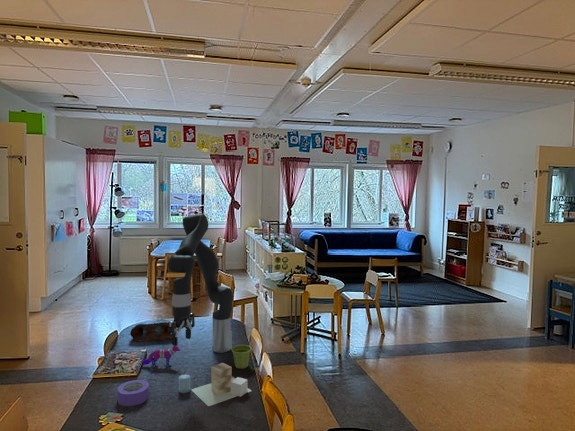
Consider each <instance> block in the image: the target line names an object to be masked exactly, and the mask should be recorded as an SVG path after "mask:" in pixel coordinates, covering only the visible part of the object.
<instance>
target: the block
mask: <svg viewBox="0 0 575 431" xmlns="http://www.w3.org/2000/svg"><path fill="white" fill-rule="evenodd" d="M248 384H249V383H248V379H247V378H243V377H240V376H237V377H236V378H235V379H234V380H233V381H231V394H233V395H237V396H236V397H239V398H240V397H242V396H244V395H245V394H247V393H246V392H247V391H248V386H249V385H248Z"/></svg>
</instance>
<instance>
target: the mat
mask: <svg viewBox="0 0 575 431" xmlns="http://www.w3.org/2000/svg"><path fill="white" fill-rule="evenodd" d="M234 379H236V378H235V377H234V375H233V376H232V379H231V381H233V380H234ZM190 391H191V392H193V393H194V394H195V395H196V396H197V397H198V398H199V399H200V400H201V401H202V402H203V403H205V405H206V406H208V407H211V406H214V405H217V404H220V403H222V402H226V401H229V400H230V399H233V398H236V397H238V396H237V395H233V394H231V391H230V392H227V393H224V394H221V395H217V394H216V393H215V392H214V391H213V390H212V382H210V383H207V384H205V385H200V386H198V387H195V388H191V390H190ZM250 392H252V389H250V388H248V391H247V392H246V393H245V394H247V393H250Z"/></svg>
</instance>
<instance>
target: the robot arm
mask: <svg viewBox="0 0 575 431" xmlns="http://www.w3.org/2000/svg"><path fill="white" fill-rule="evenodd" d="M182 227H183V230H184V232H185V234H186V236H185V237H184V238H183V239H182V240H181V242H180V245H179V247H178V249H176V251H175V252H173V254H171V256H170V257H169V258H168V262H167V268H168V270H169V271H170V272H171V273H174V274H175V273H177V274H179V273H180V274H184V276H182V277H177V278H175V279H173V281H172V297H171V300H172V301H171V302H172V303H171V313H172V317H173V320H172V321H168V322H167V323H168V336H170V337H172V339H171V345H172V347H173V346H178V335H179V333H180V332H181V331H182V329H184V328H185V339H187V340H190V339H191V338H192V330H193V328H194V327H195V324H196V321H195V313H192V294H191V283H192V282H191V281H192V277H193V276H192V275H193V272H194V270H195V266H196V261H197V264H198V266H199V269H200V271H201V274H202V277H203V280H204V282H205V286H206V290H207V293H208V298H209V300H210V302H212V303H213V304H215V305H219V308H218V309H215V310H214V311H213V312H212V345H211V346H212V352H214V353H217V354H218V353H220V354H221V353H223V354H224V353H227V352H230V351H231V349H232V348H233V331H232V330H231V317H232V316H231V315H232V314H231V313H232V312H233V299H234V298H233V291H232V289H231V288H230V287H227V286H223V285H220V283H219V281H218V279H217V278H218V277H217V274H218V271H219V262H218V258H217V256H216V253H215V252H214V250H213V249H212V248H211V247H209V246H208V245H207V244H205V243H204V242H203V241H202V239H203V237H204V236H205V235H206V233H207V232H208V229H209V220H208V217H207V215H206V214H204V213H195V214H190V215H187V216H184V217H183V218H182ZM194 256H195V258H194ZM195 259H196V261H195ZM175 328H177V329H175ZM171 331H172V333H171ZM175 331H176V333H175ZM174 333H175V334H174Z"/></svg>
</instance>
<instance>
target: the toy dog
mask: <svg viewBox="0 0 575 431" xmlns="http://www.w3.org/2000/svg"><path fill="white" fill-rule="evenodd" d="M180 351H181V349H180V348H179V346H178V345H177V346H173V345H172V347H171V348H169V349H156V350H154V351H152V352H151V353H150V354H149V356H148V357H147V358H145V359H143V360H142V361H141V364H142V365H146V366H147V365H149V364H151V365H153V366H154V367H155V368H158V367H159V366H158V365H156V362H157V361H158V360H159V359H161V358H162V359H165V360H166V361H165V362H166V363H165V364H166V365H167V366H168V367H170V368H171V367H172V365H170V360H171V359H172V356H173V355H174V354H175V353H176V352H180Z"/></svg>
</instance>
